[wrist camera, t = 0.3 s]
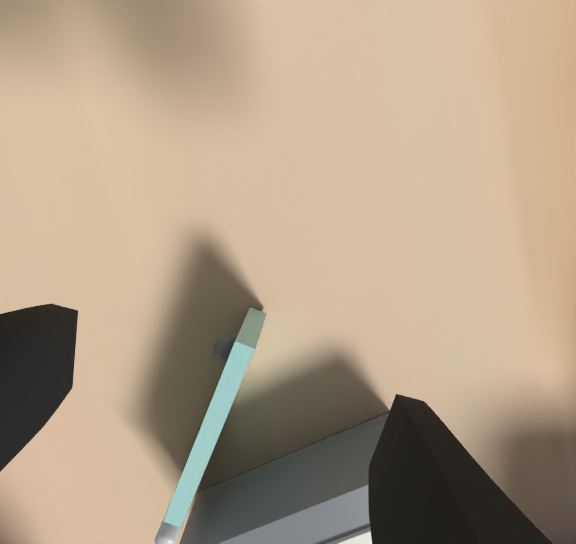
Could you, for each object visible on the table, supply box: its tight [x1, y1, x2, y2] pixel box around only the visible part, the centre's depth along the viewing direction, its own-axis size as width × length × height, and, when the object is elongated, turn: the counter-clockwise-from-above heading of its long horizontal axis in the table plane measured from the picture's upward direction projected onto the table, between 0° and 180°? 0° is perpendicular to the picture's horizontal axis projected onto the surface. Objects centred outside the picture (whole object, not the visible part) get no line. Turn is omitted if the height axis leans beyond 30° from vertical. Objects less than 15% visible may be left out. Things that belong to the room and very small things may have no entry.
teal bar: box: [155, 307, 266, 544], centre depth 19 cm, size 10×2×4 cm, turn 158°
